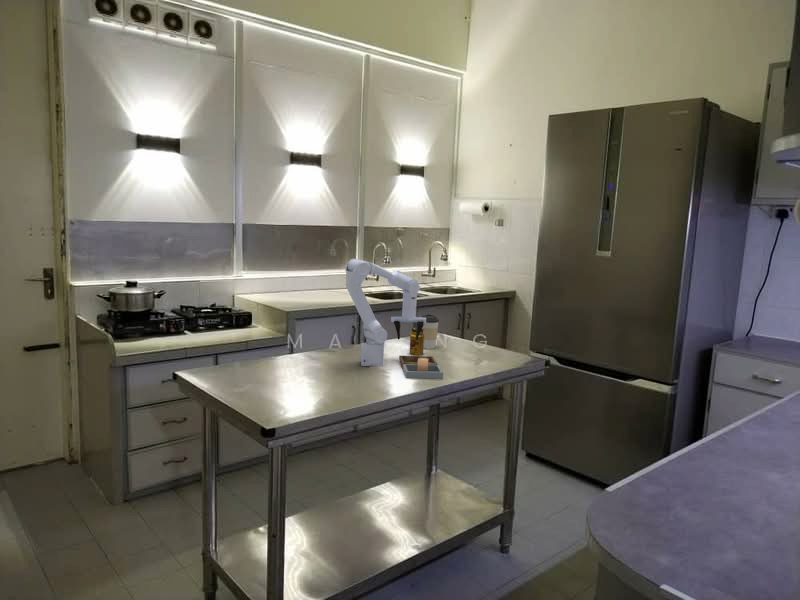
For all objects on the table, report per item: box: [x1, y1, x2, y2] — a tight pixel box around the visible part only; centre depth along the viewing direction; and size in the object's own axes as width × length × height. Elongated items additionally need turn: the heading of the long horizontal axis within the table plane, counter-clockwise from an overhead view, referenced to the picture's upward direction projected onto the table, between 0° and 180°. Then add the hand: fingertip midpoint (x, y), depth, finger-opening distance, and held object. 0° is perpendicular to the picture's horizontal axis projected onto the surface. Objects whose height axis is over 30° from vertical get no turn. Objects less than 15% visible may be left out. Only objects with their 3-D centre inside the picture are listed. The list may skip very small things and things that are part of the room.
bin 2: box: [402, 364, 444, 380], centre depth 222 cm, size 14×11×3 cm
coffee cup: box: [421, 314, 440, 350], centre depth 269 cm, size 9×9×15 cm
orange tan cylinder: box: [417, 358, 428, 372], centre depth 222 cm, size 4×4×6 cm
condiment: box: [409, 327, 428, 356], centre depth 254 cm, size 7×8×12 cm
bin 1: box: [398, 355, 439, 370], centre depth 235 cm, size 14×12×3 cm
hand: (407, 339), depth 242 cm, fingers open, 7 cm apart
